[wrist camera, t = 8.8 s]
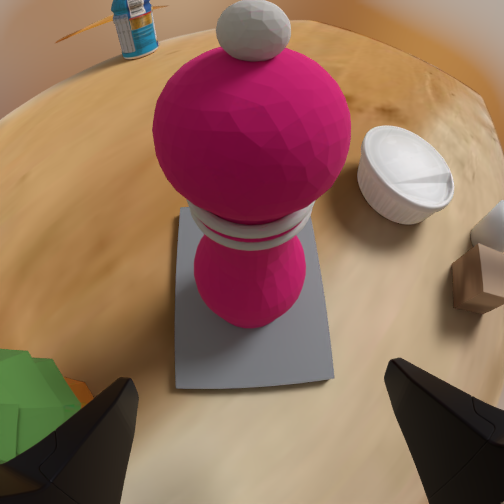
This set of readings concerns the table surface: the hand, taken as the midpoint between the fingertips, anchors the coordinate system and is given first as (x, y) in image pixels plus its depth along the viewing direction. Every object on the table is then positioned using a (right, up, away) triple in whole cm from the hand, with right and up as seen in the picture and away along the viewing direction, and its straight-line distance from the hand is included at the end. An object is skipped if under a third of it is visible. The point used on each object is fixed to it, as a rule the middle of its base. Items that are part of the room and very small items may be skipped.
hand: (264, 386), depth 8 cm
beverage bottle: (-24, +48, +37) cm, 65 cm away
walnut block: (+23, 0, +15) cm, 27 cm away
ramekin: (+16, +11, +20) cm, 28 cm away
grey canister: (+29, +5, +17) cm, 34 cm away
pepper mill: (-1, +1, +14) cm, 14 cm away
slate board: (-1, +1, +15) cm, 15 cm away
